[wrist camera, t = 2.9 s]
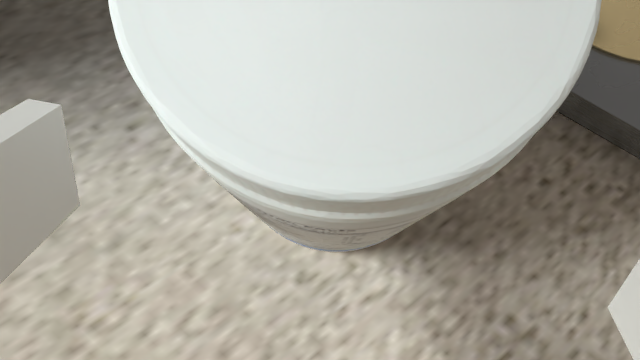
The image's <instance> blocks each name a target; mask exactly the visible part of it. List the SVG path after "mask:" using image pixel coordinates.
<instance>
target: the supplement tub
mask: <svg viewBox="0 0 640 360" xmlns="http://www.w3.org/2000/svg"><path fill="white" fill-rule="evenodd" d="M601 1H602V0H108V3H109V10H110V16H111V20H112V24H113V28H114V32H115V36H116V39H117V42H118V46H119V49H120V52H121V55H122V57H123V59H124V61H125V64H126V66H127V68H128V70H129V72H130V74H131V75H132V77H133V79H134V81H135V82H136V84H137V86H138V88H139V89H140V91H141V92H142V94H143V96H144V97H145V99H146V100H147V102H148V103H149V104H150V105H151V107H152V108H153V110H154V111H155V113H156V115H157V116H158V118H159V119H160V121H161V122H162V124H163V125H164V127H165V129H166V130H167V131H168V133H169V134H170V135H171V136H172V138H173V139H174V140H175V141H176V142H177V144H178V145H179V146H180V147H181V148H182V149H183V150H184V151H185V152H186V153H187V154H188V155H189V156H190V157H191V158H192V159H193V160H194V161H195V162H196V163H197V164H198V165H199V166H200V167H201V168H202V169H204V170H205V171H206V172H207V173H208V174H209V175H210V176H211V177H212V178H213V179H214V180H215V181H216V182H217V183H219V184H220V185H221V186H222V187H223V188H225V189H226V190H227V191H228V192H229V193H230V194H231V195H233V196H234V197H235V198H236V199H237V200H238V201H239V202H241V203H242V204H243V205H244V206H245V207H247V208H248V209H249V210H250V211H251V212H252V213H254V214H255V215H256V216H257V217H258V218H260V219H261V220H262V221H263V222H264V223H266V224H267V225H268V226H269V227H270V228H272V229H273V230H274V231H276V232H277V233H278V234H280V235H281V236H283V237H284V238H286V239H288V240H290V241H292V242H294V243H296V244H298V245H301V246H304V247H307V248H310V249H315V250H320V251H328V252H347V251H353V250H359V249H363V248H366V247H369V246H372V245H376V244H378V243H380V242H383V241H385V240H387V239H388V238H390V237H392V236H393V235H395V234H397V233H399V232H401V231H402V230H404V229H405V228H407V227H409V226H411V225H412V224H414V223H416V222H417V221H419V220H421V219H422V218H424V217H426V216H428V215H430V214H431V213H433V212H435V211H436V210H438V209H440V208H442V207H443V206H445V205H447V204H448V203H450V202H452V201H454V200H455V199H457V198H458V197H460V196H461V195H463V194H464V193H466V192H467V191H469V190H471V189H473V188H474V187H476V186H478V185H479V184H481V183H482V182H484V181H485V180H487V179H488V178H490V177H491V176H492V175H494V174H495V173H496V172H497V171H499V170H500V169H501V168H502V167H504V166H505V165H506V164H507V163H508V162H510V161H511V160H512V159H513V158H514V157H515V156H516V155H517V154H518V153H519V152H520V151H521V150H522V149H523V147H524V146H525V145H526V144H527V143H528V142H529V140H530V139H531V138H532V137H533V136H534V134H535V133H536V132H537V131H538V130H539V129H540V128H541V127H542V126H543V125H545V124H546V123H547V122H548V120H549V119H550V118H551V117H552V116H553V114H554V113H555V112H556V111H557V109H558V108H559V107H560V106H561V105H562V103H563V102H564V100H565V99H566V98H567V96H568V95H569V93H570V91H571V90H572V88H573V86H574V85H575V83H576V81H577V80H578V78H579V76H580V74H581V72H582V70H583V68H584V65H585V63H586V61H587V59H588V56H589V54H590V51H591V47H592V44H593V41H594V38H595V35H596V31H597V27H598V22H599V18H600V8H601Z"/></svg>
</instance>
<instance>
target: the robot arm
mask: <svg viewBox="0 0 640 360" xmlns="http://www.w3.org/2000/svg"><path fill="white" fill-rule="evenodd" d="M79 206H80V202H79V197H78V192H77V186H76V181H75V176H74V170H73V165H72V160H71V154H70V149H69V144H68V138H67V133H66V128H65V122H64V117H63V112H62V106H61V105H60V104H54V103H49V102H43V101H38V100H32V99H27V100H25V101H24V102H22V103H20V104H18V105H16V106H15V107H13V108H11V109H9V110H8V111H6V112H4V113H2V114H0V283H2V282H3V281H4V280H5V279H6V278H7V277H8V276H9V275H10V274H11V273H12V272H13V271H14V270H15V269H16V268H17V267H18V266H19V265H20V264H21V263H22V262H23V261H24V260H25V259H26V258H27V257H28V256H29V255H30V254H31V253H32V252H33V251H34V250H35V249H36V248H37V247H38V246H39V245H40V244H41V243H42V242H43V241H44V240H45V239H46V238H47V237H48V236H49V235H50V234H51V233H52V232H53V231H54V230H55V229H56V228H57V227H58V226H59V225H60V224H61V223H62V222H63V221H64V220H65V219H67V218H68V217H69V216H70V215H71V214H72V213H73V212H74V211H75V210H76V209H77V208H78V207H79ZM608 309H609V311H610V313H611V316H612V318H613V320H614V322H615V324H616V326H617V328H618V330H619V332H620V334H621V336H622V338H623V340H624V342H625V344H626V346H627V348H628V350H629V352H630V354H631V356H632V358H633V360H640V259H639V260H638V262H637V263H636V265H635V267H634V268H633V270H632V271H631V273H630V274H629V276H628V277H627V279H626V280H625V282H624V283H623V285H622V286H621V288H620V289H619V291H618V292H617V294H616V295H615V297H614V298H613V300H612V301H611V303H610V304H609V306H608Z"/></svg>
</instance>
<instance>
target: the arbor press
mask: <svg viewBox="0 0 640 360" xmlns="http://www.w3.org/2000/svg"><path fill="white" fill-rule="evenodd" d="M557 111H558V112H559V113H561V114H563V115H565V116H566V117H568V118H570V119H572V120H573V121H575V122H577V123H578V124H580V125H582V126H584V127H585V128H587V129H589V130H591V131H592V132H594V133H596V134H598V135H599V136H601V137H603V138H604V139H606V140H608V141H610V142H611V143H613V144H615V145H617V146H618V147H620V148H622V149H624V150H625V151H627V152H629V153H631V154H632V155H634V156H636V157H637V158H639V159H640V0H602V1H601V8H600V18H599V22H598V27H597V31H596V35H595V38H594V41H593V44H592V47H591V51H590V54H589V56H588V59H587V61H586V63H585V65H584V68H583V70H582V72H581V74H580V76H579V78H578V80H577V81H576V83H575V85H574V86H573V88H572V90H571V91H570V93H569V95H568V96H567V98H566V99H565V100H564V102H563V103H562V105H561V106H560V107H559V108H558V109H557Z"/></svg>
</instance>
